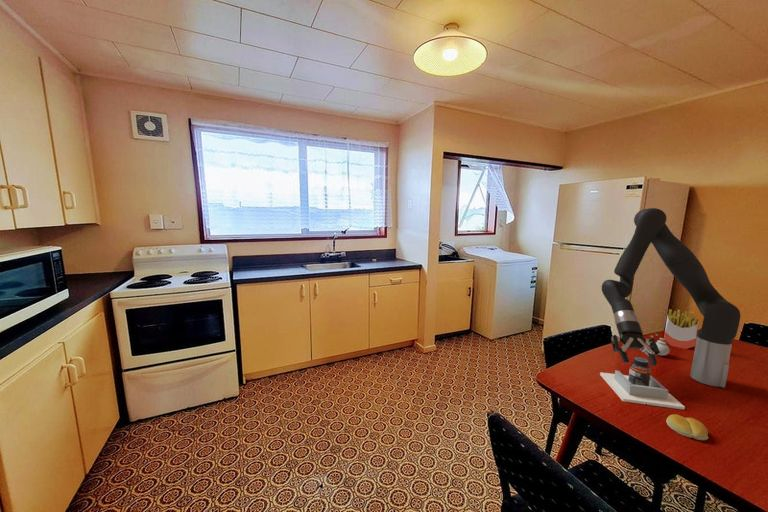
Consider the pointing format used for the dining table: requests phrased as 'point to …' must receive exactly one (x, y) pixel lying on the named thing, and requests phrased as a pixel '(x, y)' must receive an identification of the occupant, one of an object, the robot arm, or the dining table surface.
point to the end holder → (641, 391)
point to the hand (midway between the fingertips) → (640, 364)
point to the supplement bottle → (639, 372)
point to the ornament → (662, 347)
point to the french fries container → (681, 329)
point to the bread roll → (687, 427)
